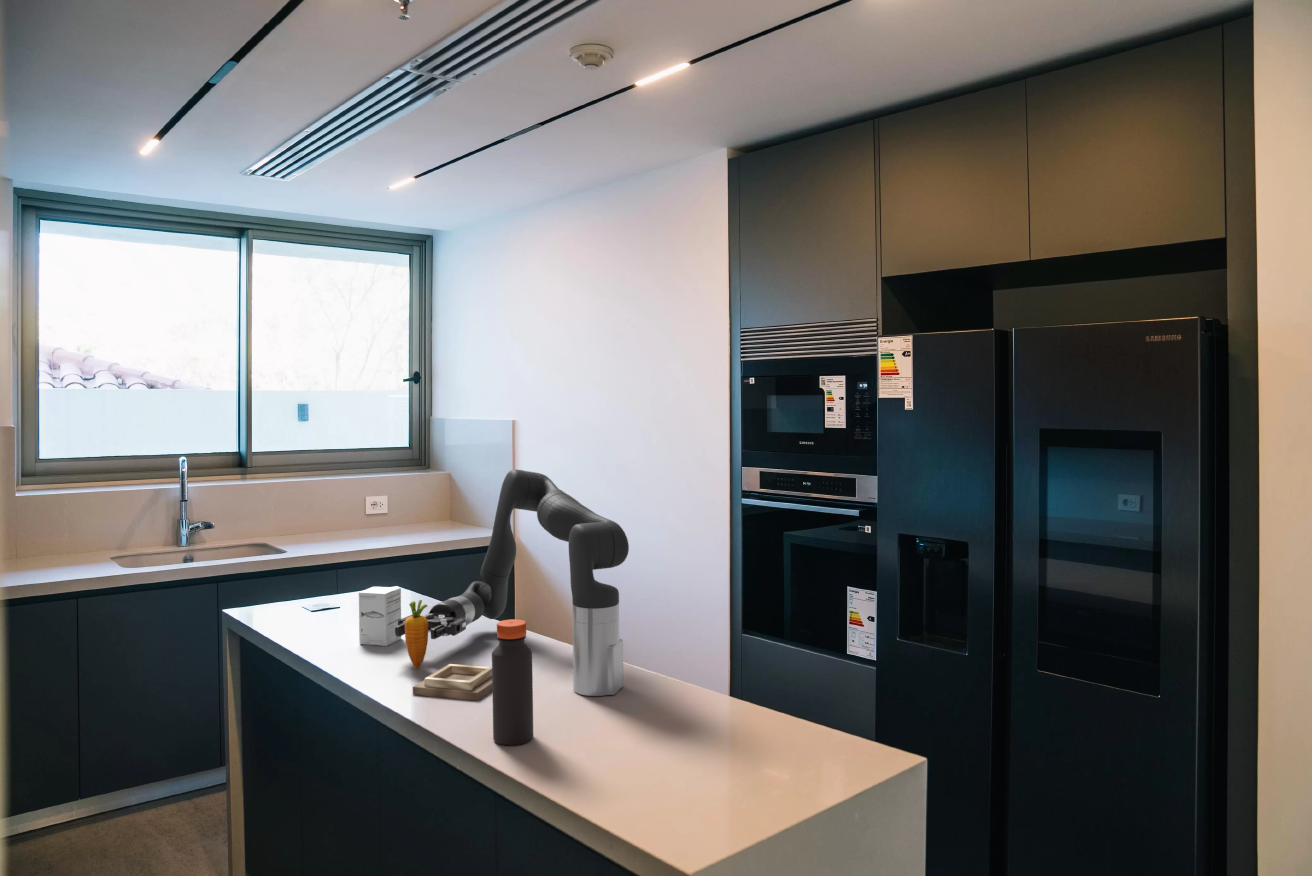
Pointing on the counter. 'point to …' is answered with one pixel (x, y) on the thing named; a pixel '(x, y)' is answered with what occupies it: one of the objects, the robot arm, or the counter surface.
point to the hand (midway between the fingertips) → (414, 633)
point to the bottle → (512, 685)
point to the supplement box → (379, 615)
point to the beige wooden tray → (457, 682)
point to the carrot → (416, 634)
